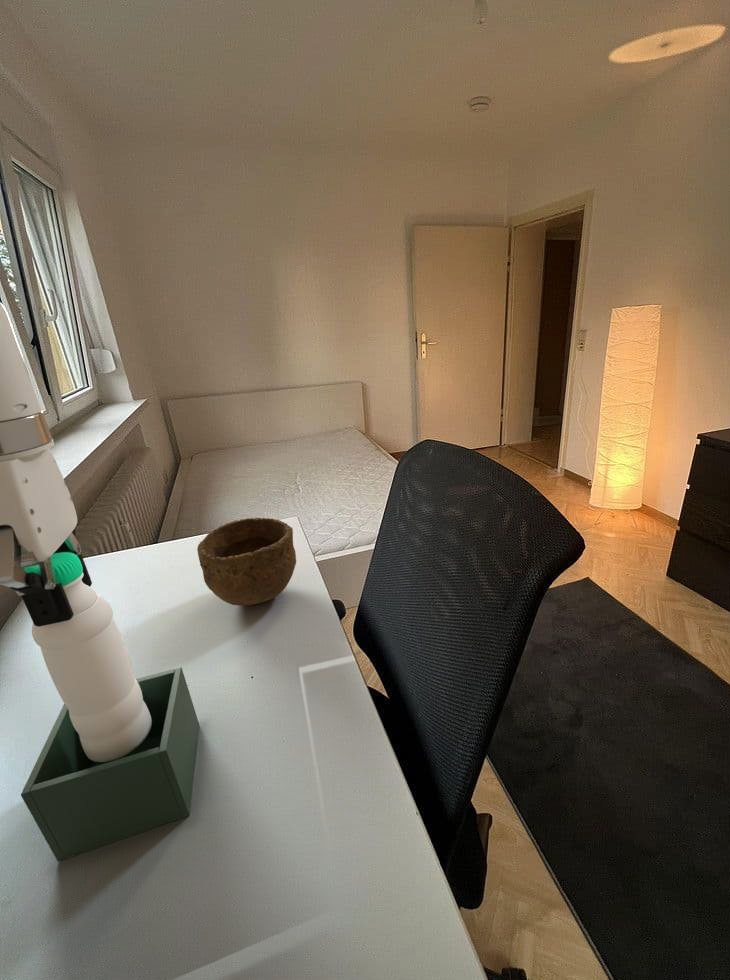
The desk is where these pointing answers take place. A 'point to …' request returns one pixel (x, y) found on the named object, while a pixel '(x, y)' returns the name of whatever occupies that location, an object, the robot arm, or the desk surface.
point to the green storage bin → (117, 775)
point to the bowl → (248, 560)
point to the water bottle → (92, 668)
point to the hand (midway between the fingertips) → (65, 603)
